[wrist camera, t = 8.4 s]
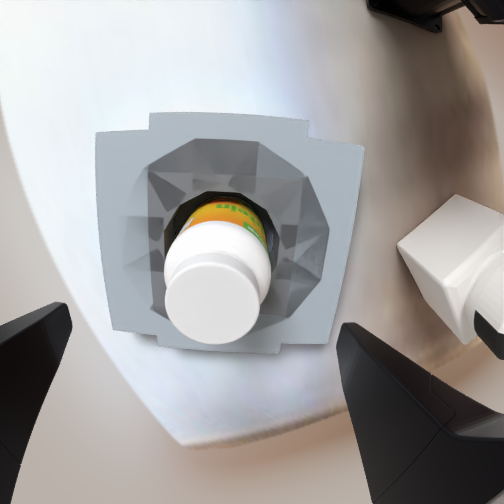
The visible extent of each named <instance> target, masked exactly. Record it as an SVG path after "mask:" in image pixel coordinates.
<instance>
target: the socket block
mask: <svg viewBox="0 0 504 504" xmlns="http://www.w3.org/2000/svg"><path fill="white" fill-rule="evenodd" d="M308 128H309V120H301V119H292V118H283V117H273V116H262V115H249V114H232V113H204V112H164V113H150V116H149V130H129V131H111V132H97V133H96V143H95V170H96V200H97V216H98V229H99V240H100V249H101V258H102V266H103V274H104V281H105V287H106V294H107V300H108V306H109V311H110V317H111V322H112V327H113V330H117V331H124V332H132V333H140V334H148V335H157V342H158V346H163V347H172V348H182V349H193V350H206V351H220V352H237V353H262V354H279V353H280V347H281V344H328V340H329V336H330V332H331V328H332V324H333V320H334V316H335V312H336V308H337V304H338V299H339V295H340V291H341V286H342V282H343V277H344V272H345V268H346V263H347V258H348V253H349V247H350V242H351V237H352V231H353V225H354V220H355V214H356V207H357V201H358V194H359V188H360V181H361V173H362V165H363V157H364V149H365V146H360V145H355V144H349V143H342V142H336V141H329V140H322V139H315V138H308ZM206 191H220V192H238V193H241V194H243V195H244V196H246V197H247V198H249V199H250V200H252V201H253V202H255V203H256V204H258V205H259V206H261V207H262V208H264V209H265V210H267V212H268V214H269V216H270V218H271V220H272V222H273V224H274V226H275V230H274V240H273V249H272V250H271V252H270V253H269V259H270V264H271V281H270V286H269V290H268V293H267V295H266V297H265V299H264V300H263V302H262V303H261V304H260V311H259V315H258V318H257V321H256V323H255V324H254V326H253V327H252V329H251V330H250V331H249V332H248V333H247V334H245V335H244V336H243V337H241V338H239V339H237V340H235V341H233V342H229V343H225V344H205V343H201V342H197V341H195V340H193V339H190V338H188V337H187V336H185V335H184V334H182V333H181V332H180V331H179V330H178V329H177V328H176V327H175V326H174V325H173V323H172V322H171V320H170V319H169V317H168V314H167V312H166V307H165V294H166V289H167V287H166V284H165V278H164V265H165V260H166V256H167V254H168V251H169V249H170V247H171V245H172V243H173V242H174V217H175V216H176V214H177V212H178V211H179V209H180V207H181V206H182V204H183V203H185V202H186V201H188V200H190V199H192V198H194V197H196V196H198V195H200V194H202V193H204V192H206Z"/></svg>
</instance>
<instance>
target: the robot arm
mask: <svg viewBox="0 0 504 504" xmlns="http://www.w3.org/2000/svg"><path fill="white" fill-rule="evenodd" d="M372 3H374V4H375V5H376V6H373V5H372ZM366 4H367V6H368V8H369V9H370V10H373V11H376V12H379V13H382V14H385V15H389V16H392V17H394V18H397V19H400V20H403V21H406V22H408V23H411V24H414V25H416V26H419V27H421V28H424V29H426V30H429V31H431V32H433V33H436V34H438V33H441V32H442V17H441V16H443V15H445V14H447V13H449V12H452V11H454V10H456V9H459V8H461V7H463V6H466V7H467V8H468V9H469V10H470V11H471V12H472V13H473V15H474V16H475V17H474V18H475V19H476V20H477V21H478V22H479V24H504V0H366ZM435 26H436V27H437V29H436V28H435ZM71 331H72V321H71V317H70V313H69V310H68V306H67V304H65V303H61V302H54V303H51V304H49V305H47V306H45V307H43V308H40V309H37V310H35V311H33V312H31V313H28V314H26V315H24V316H21V317H19V318H17V319H15V320H12V321H10V322H8V323H5V324H3V325H1V326H0V504H10V503H11V500H12V496H13V492H14V488H15V484H16V480H17V477H18V473H19V470H20V467H21V465H20V464H21V463H22V460H23V456H24V454H25V450H26V447H27V444H28V441H29V439H30V436H31V433H32V430H33V428H34V425H35V422H36V420H37V417H38V414H39V412H40V409H41V407H42V404H43V402H44V399H45V397H46V395H47V392H48V390H49V388H50V385H51V383H52V381H53V378H54V376H55V374H56V372H57V370H58V367H59V365H60V362H61V359H62V356H63V354H64V350H65V348H66V345H67V342H68V340H69V337H70V334H71ZM336 351H337V357H338V363H339V369H340V375H341V381H342V387H343V392H344V395H345V399H346V403H347V406H348V410H349V413H350V417H351V421H352V424H353V428H354V432H355V435H356V439H357V443H358V446H359V451H360V455H361V458H362V463H363V467H364V471H365V475H366V479H367V483H368V487H369V491H370V495H371V500H372V503H373V504H504V414H501V413H498V412H496V411H494V410H492V409H490V408H488V407H486V406H484V405H482V404H481V403H479V402H477V401H475V400H473V399H472V398H470V397H468V396H466V395H464V394H463V393H461V392H459V391H457V390H456V389H454V388H452V387H451V386H449V385H448V384H446V383H444V382H443V381H441V380H440V379H438V378H437V377H435V376H434V375H431V373H429V372H428V371H427V370H425V369H424V368H422V367H421V366H419V365H418V364H416V363H415V362H413V361H412V360H410V359H409V358H407V357H406V356H404V355H403V354H401V353H400V352H398V351H397V350H395V349H394V348H392V347H391V346H389V345H388V344H386V343H385V342H384V341H382V340H381V339H379V338H378V337H376V336H375V335H373V334H372V333H370V332H369V331H367V330H366V329H364V328H363V327H361V326H360V325H358V324H357V323H354V322H351V323H343V324H342V326H341V329H340V333H339V337H338V340H337V345H336Z"/></svg>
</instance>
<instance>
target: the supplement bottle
mask: <svg viewBox="0 0 504 504" xmlns="http://www.w3.org/2000/svg"><path fill="white" fill-rule="evenodd" d="M164 278H165V284H166V287H167V289H166V294H165V307H166V312H167V314H168V317H169V319H170V320H171V322H172V323H173V325H174V326H175V327H176V328H177V329H178V330H179V331H180V332H181V333H182V334H184V335H185V336H187V337H188V338H190V339H193V340H195V341H197V342H201V343H205V344H225V343H229V342H233V341H235V340H237V339H239V338H241V337H243V336H244V335H245V334H247V333H248V332H249V331H250V330H251V329H252V327H253V326H254V324H255V323H256V321H257V318H258V315H259V311H260V304H261V303H262V302H263V300H264V299H265V297H266V295H267V293H268V290H269V286H270V281H271V264H270V259H269V254H268V249H267V243H266V238H265V233H264V227H263V224H262V221H261V219H260V217H259V215H258V213H257V212H256V211H255V210H254V208H253V207H252V206H250V205H249V204H248V203H246V202H245V201H243V200H241V199H238V198H235V197H231V196H218V197H214V198H211V199H208V200H206V201H204V202H203V203H202V204H200V205H199V206H198V207H197V208H196V209H195V210H194V211H193V213H192V214H191V215H190V217H189V218H188V220H187V222H186V223H185V225H184V226H183V228H182V230H181V231H180V233H179V234H178V236H177V237H176V239H175V240H174V242H173V243H172V245H171V247H170V249H169V251H168V254H167V256H166V260H165V265H164Z"/></svg>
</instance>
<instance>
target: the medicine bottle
mask: <svg viewBox="0 0 504 504" xmlns="http://www.w3.org/2000/svg"><path fill="white" fill-rule="evenodd" d="M397 248H398V250H399V252H400V254H401V255H402V257H403V259H404V261H405V263H406V265H407V267H408V268H409V270H410V272H411V274H412V276H413V278H414V280H415V282H416V284H417V286H418V288H419V290H420V292H421V294H422V296H423V298H424V300H425V301H426V302H427V304H428V305H429V306H430V307H431V308H432V309H433V310H434V311H435V312H436V314H437V315H438V316H439V317H440V318H441V319H442V320H443V321H444V323H445V324H446V325H447V326H448V327H449V328H450V329H451V331H452V332H453V333H454V334H455V335H456V337H457V338H458V339H459V340H460V341H461V342H462V343H463V344H464V345H466V344H468V343H469V342H470V341H472V340H473V339H474V338H475V337H476V336H477V335H478V336H479V337H480V338H481V339H482V340H483V342H484V343H485V344H486V345H487V346H488V347H489V348H490V349H491V351H492V352H493V353H494V354H495V355H496V356H497V357H498V358H499V359H501V360H504V214H502V213H500V212H497V211H495V210H493V209H491V208H489V207H486V206H484V205H482V204H479V203H477V202H475V201H472V200H470V199H467V198H465V197H462V196H460V195H457V194H455V195H453V196H452V197H451V198H450V199H449V200H448V201H447V202H445V203H444V204H443V205H442V206H441V207H440V208H439V209H437V210H436V211H435V212H434V213H433V214H432V215H430V216H429V217H428V218H427V219H426V220H425V221H423V222H422V223H421V224H420V225H419V226H417V227H416V228H415V229H414V230H413V231H411V232H410V233H409V234H408V235H407V236H405V237H404V238H403V239H402V240H400V241H399V242H398V243H397Z"/></svg>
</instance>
